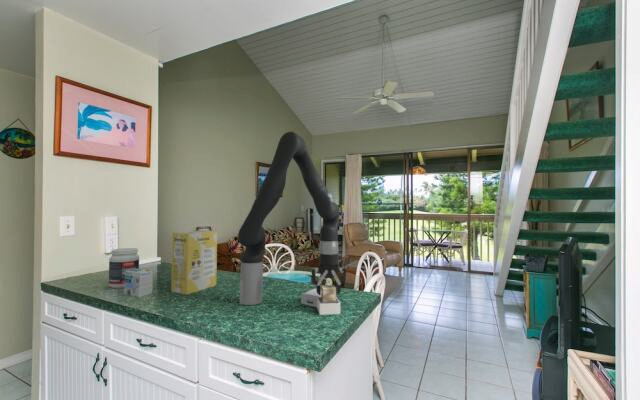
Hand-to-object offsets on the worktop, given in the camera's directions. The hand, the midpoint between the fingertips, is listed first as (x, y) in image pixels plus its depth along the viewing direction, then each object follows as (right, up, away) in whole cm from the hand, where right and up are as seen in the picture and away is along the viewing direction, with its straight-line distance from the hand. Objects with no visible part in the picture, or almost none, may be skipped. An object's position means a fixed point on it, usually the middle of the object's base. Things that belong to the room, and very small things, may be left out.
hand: (328, 294), depth 116 cm
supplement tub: (-104, -7, +34) cm, 109 cm away
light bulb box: (-88, -7, +20) cm, 90 cm away
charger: (-4, -7, +12) cm, 15 cm away
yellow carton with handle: (-66, -7, +30) cm, 73 cm away
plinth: (0, -6, 0) cm, 6 cm away
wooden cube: (0, -2, 0) cm, 2 cm away
